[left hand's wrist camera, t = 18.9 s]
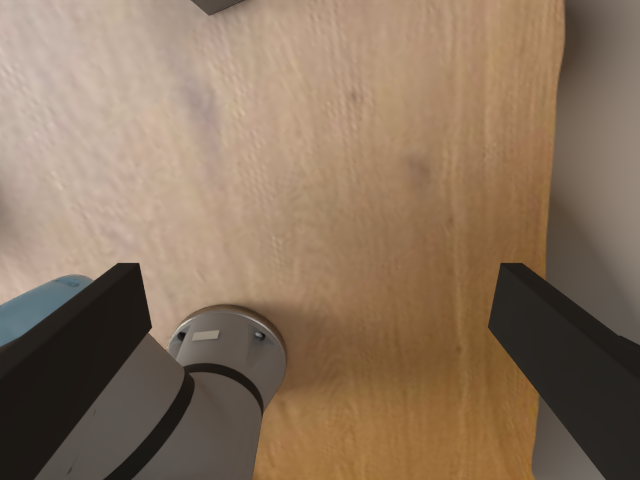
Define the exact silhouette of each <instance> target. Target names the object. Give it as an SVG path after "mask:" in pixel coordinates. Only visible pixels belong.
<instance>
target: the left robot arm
mask: <svg viewBox="0 0 640 480" xmlns="http://www.w3.org/2000/svg"><path fill="white" fill-rule="evenodd" d="M151 328H152V325H151V320H150V315H149V310H148V305H147V300H146V295H145V290H144V285H143V280H142V275H141V270H140V265H139V263H117V264H116V265H115V266H113V267H112V268H111V269H109V270H108V271H107V272H105V273H104V274H103V275H101V276H100V277H99V278H97V279H96V280H95V281H94V280H92V279H91V278H89V277H86V276H83V275H67V276H63V277H60V278H57V279H54V280H52V281H50V282H47V283H45V284H43V285H41V286H39V287H37V288H34V289H32V290H30V291H28V292H26V293H24V294H22V295H20V296H18V297H16V298H14V299H12V300H10V301H8V302H6V303H4V304H2V305H0V480H252V476H253V470H254V464H255V458H256V452H257V446H258V440H259V435H260V429H261V423H262V417H263V412H264V411H265V409H266V407H267V406H268V404H269V403H270V401H271V399H272V398H273V396H274V395H275V393H276V391H277V390H278V388H279V387H280V385H281V383H282V381H283V378H284V375H285V371H286V363H287V350H286V345H285V342H284V340H283V338H282V336H281V334H280V333H279V331H278V330H277V329H276V327H275V326H274V325H273V324H272V323H271V322H270V321H268V320H267V319H266V318H264V317H263V316H261V315H260V314H258V313H256V312H254V311H252V310H249V309H246V308H243V307H238V306H232V305H216V306H210V307H206V308H203V309H200V310H198V311H196V312H194V313H192V314H191V315H189V316H188V317H187V318H186V319H184V320H183V322H182V323H181V324H180V325H179V327H178V328H177V329H176V331H175V333H174V334H173V336H172V337H171V339H170V341H169V344H168V348H167V351H166V350H165V349H164V348H163V347H162V346H161V345H160V344H159V343H158V342H157V341H156V340H155V339H154V338H153V337H152V336H151V335H150V334H149V333H148V332H149V331H150V329H151ZM488 328H489V329H490V331H491V332H492V333H493V335H494V336H495V337H496V338H497V340H498V341H499V342H500V344H501V345H502V346H503V348H504V349H505V350H506V351H507V353H508V354H509V355H510V357H511V358H512V359H513V360H514V362H515V363H516V364H517V366H518V367H519V368H520V369H521V371H522V372H523V373H524V375H525V376H526V377H527V379H528V380H529V381H530V382H531V384H532V385H533V386H534V388H535V389H536V390H537V391H538V393H539V394H540V395H541V397H542V398H543V399H544V400H545V402H546V403H547V404H548V406H549V407H550V408H551V409H552V411H553V412H554V413H555V415H556V416H557V417H558V418H559V420H560V421H561V422H562V424H563V425H564V426H565V428H566V429H567V430H568V431H569V433H570V434H571V435H572V437H573V438H574V439H575V440H576V442H577V443H578V444H579V446H580V447H581V448H582V450H583V451H584V452H585V453H586V455H587V456H588V457H589V458H590V460H591V461H592V462H593V464H594V465H595V466H596V468H597V469H598V470H599V471H600V473H601V474H602V475H603V477H604V478H605V479H606V480H640V345H638V344H636V343H634V342H632V341H630V340H628V339H626V338H624V337H622V336H618V335H617V334H615V333H614V332H613V331H611V330H610V329H609V328H607V327H606V326H605V325H604V324H602V323H601V322H600V321H598V320H597V319H596V318H594V317H593V316H592V315H590V314H589V313H588V312H586V311H585V310H584V309H582V308H581V307H580V306H578V305H577V304H576V303H574V302H573V301H572V300H570V299H569V298H568V297H566V296H565V295H564V294H562V293H561V292H560V291H558V290H557V289H556V288H554V287H553V286H552V285H550V284H549V283H548V282H546V281H545V280H544V279H543V278H541V277H540V276H539V275H537V274H536V273H535V272H533V271H532V270H531V269H529V268H528V267H527V266H525V265H524V264H523V263H501V265H500V270H499V275H498V280H497V285H496V290H495V295H494V300H493V305H492V310H491V315H490V320H489V325H488Z"/></svg>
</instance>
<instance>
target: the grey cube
mask: <svg viewBox="0 0 640 480" xmlns="http://www.w3.org/2000/svg"><path fill="white" fill-rule="evenodd" d="M191 1H192V2H194V3H195V4H196V5H197V6H198V7H199V8H201V9H202V10H203V11H204V12H205V13H206V14H208V15H211V14H214V13H216V12H218V11H220V10H223V9H225V8H227V7H229V6H232V5H234V4H236V3H239V2H241V1H243V0H191Z"/></svg>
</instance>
